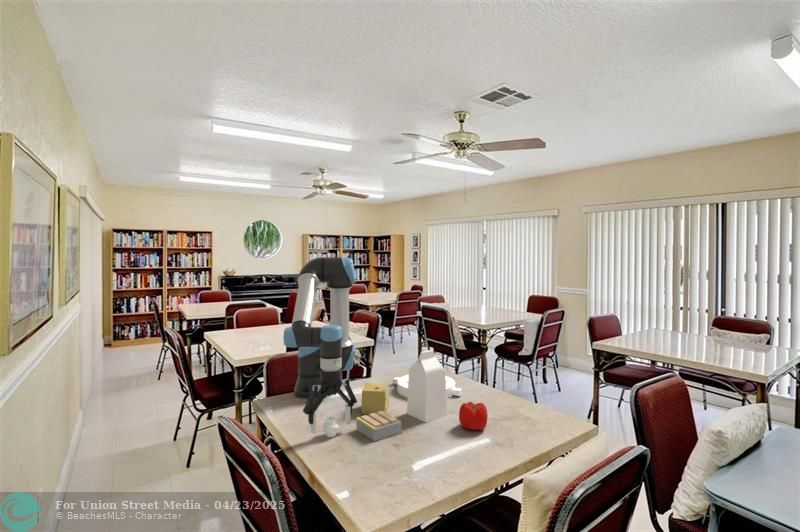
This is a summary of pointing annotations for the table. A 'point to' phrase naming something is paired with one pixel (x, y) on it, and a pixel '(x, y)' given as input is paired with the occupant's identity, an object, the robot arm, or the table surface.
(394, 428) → the dock
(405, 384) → the white circle with bar
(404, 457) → the table surface
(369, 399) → the cheese
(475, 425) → the red bell pepper
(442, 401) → the milk
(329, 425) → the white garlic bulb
